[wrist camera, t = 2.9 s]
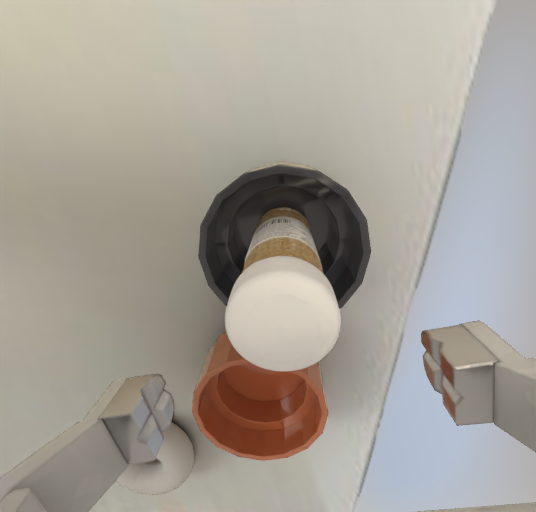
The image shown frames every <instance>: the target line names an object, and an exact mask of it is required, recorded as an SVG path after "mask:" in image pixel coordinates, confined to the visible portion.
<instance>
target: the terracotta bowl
mask: <svg viewBox="0 0 536 512" xmlns="http://www.w3.org/2000/svg"><path fill="white" fill-rule="evenodd" d="M192 413H193V415H194V418H195V420H196V422H197V425H198V427H199V429H200V431H201V432H202V433H203V434H204V435H205V436H206V437H207V438H208V439H209V440H210V441H211V442H212V443H214V444H215V445H216V446H217V447H219V448H221V449H223V450H225V451H227V452H229V453H232V454H234V455H236V456H239V457H243V458H250V459H256V460H272V459H281V458H288V457H290V456H292V455H294V454H296V453H299V452H301V451H303V450H305V449H307V448H309V446H310V445H311V444H312V443H313V442H314V441H315V440H316V439H317V438H318V437H319V436H320V435H321V434H322V433H323V429H324V426H325V423H326V419H327V416H328V409H327V403H326V397H325V391H324V385H323V379H322V373H321V368H320V363H319V361H318V362H317V363H315V364H313V365H311V366H309V367H306V368H303V369H300V370H295V371H272V370H268V369H264V368H261V367H259V366H256V365H254V364H252V363H250V362H249V361H247V360H246V359H245V358H243V357H242V356H241V355H240V354H239V353H238V352H237V351H236V350H235V348H234V347H233V346H232V344H231V342H230V340H229V338H228V335H227V332H225V333H224V334H222V335H220V336H219V337H218V339H217V340H216V342H215V343H214V345H213V346H212V348H211V349H210V351H209V353H208V356H207V358H206V361H205V364H204V366H203V369H202V372H201V374H200V377H199V380H198V382H197V385H196V387H195V390H194V394H193V407H192Z"/></svg>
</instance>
